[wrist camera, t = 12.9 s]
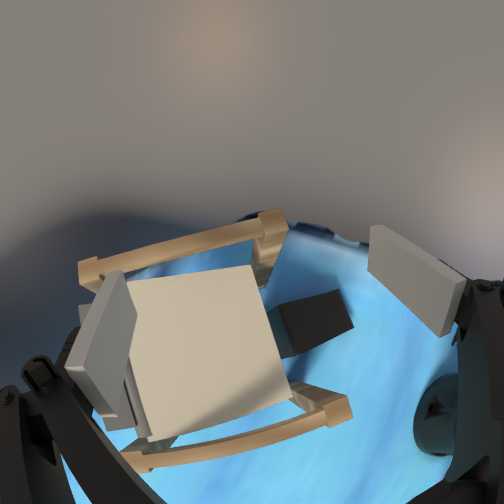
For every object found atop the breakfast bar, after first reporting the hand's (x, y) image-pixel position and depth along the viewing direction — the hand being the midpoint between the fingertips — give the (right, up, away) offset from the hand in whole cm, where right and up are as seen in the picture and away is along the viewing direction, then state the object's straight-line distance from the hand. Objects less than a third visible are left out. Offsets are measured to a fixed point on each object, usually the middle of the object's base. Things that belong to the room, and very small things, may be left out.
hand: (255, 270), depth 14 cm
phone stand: (+2, -9, +20) cm, 22 cm away
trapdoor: (-6, -8, +9) cm, 14 cm away
